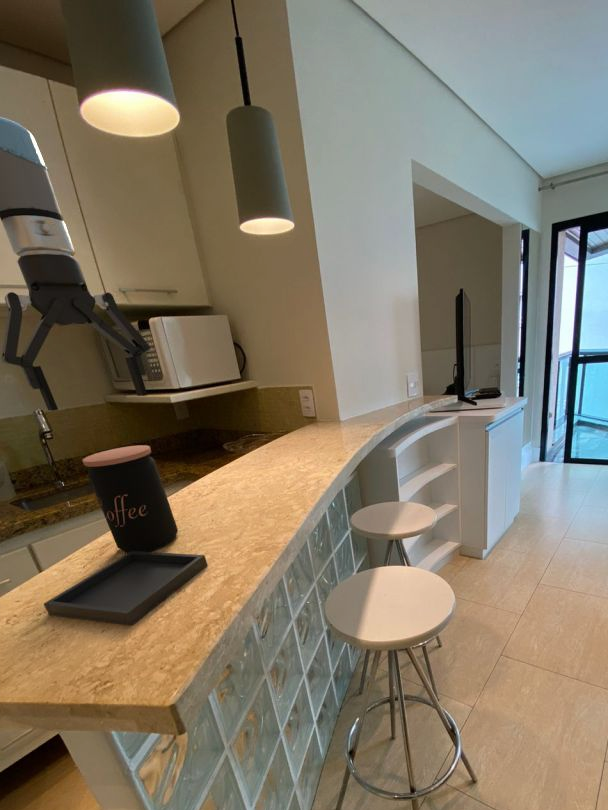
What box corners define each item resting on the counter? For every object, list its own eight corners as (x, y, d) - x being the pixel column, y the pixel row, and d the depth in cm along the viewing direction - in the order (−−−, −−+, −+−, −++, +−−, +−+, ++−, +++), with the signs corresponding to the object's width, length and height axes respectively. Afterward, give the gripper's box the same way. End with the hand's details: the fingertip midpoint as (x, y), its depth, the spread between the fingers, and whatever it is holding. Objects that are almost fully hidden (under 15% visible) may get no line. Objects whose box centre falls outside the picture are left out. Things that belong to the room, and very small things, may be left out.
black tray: (48, 615, 59) (42, 603, 58) (135, 560, 73) (131, 550, 72) (132, 625, 55) (126, 613, 54) (207, 565, 68) (204, 554, 67)
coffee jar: (105, 555, 76) (66, 462, 69) (148, 529, 86) (117, 446, 79) (152, 556, 73) (116, 460, 66) (191, 530, 83) (163, 443, 76)
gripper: (-67, 244, 50) (12, 418, 58) (143, 257, 67) (182, 390, 75) (-71, 257, 55) (3, 416, 63) (127, 266, 72) (165, 390, 80)
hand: (101, 402), depth 69 cm, fingers open, 13 cm apart
